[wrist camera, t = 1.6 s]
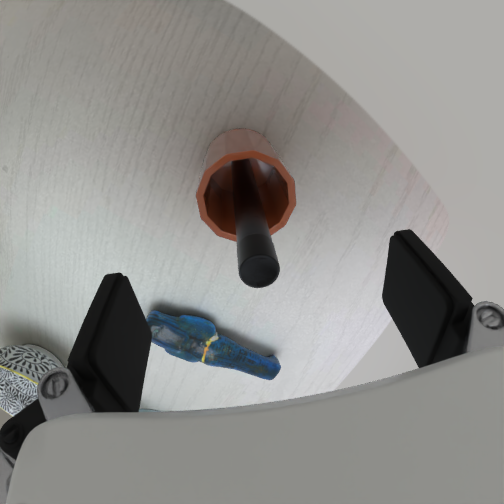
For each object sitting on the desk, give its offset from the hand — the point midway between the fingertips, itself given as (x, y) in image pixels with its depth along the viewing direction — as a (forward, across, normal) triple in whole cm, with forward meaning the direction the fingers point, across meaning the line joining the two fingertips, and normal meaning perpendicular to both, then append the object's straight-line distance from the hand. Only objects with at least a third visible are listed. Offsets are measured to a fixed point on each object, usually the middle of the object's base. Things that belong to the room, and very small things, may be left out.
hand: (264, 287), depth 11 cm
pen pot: (+14, 0, 0) cm, 14 cm away
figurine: (+14, +5, +17) cm, 23 cm away
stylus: (+14, 0, 0) cm, 14 cm away
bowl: (+14, +30, +20) cm, 39 cm away
